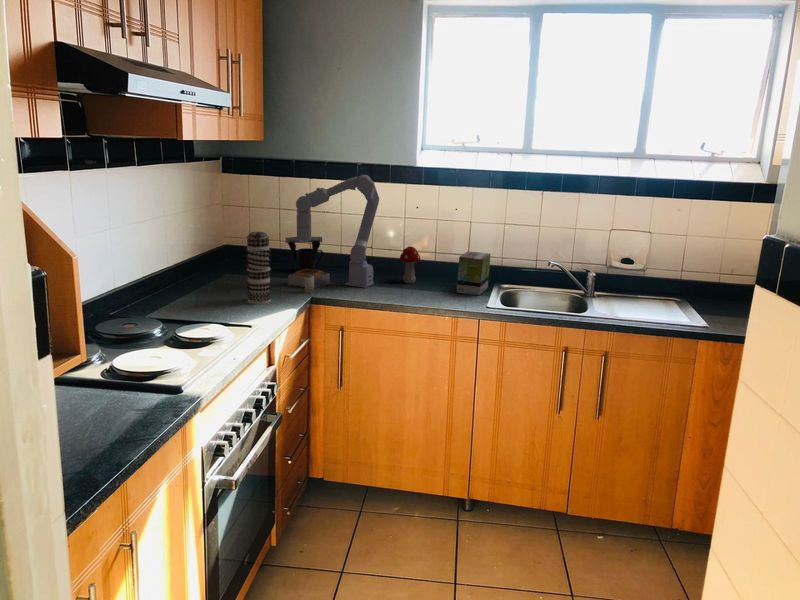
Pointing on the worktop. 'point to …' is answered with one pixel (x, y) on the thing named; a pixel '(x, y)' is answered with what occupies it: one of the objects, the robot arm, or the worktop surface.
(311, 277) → the canister
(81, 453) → the worktop surface
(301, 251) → the mug
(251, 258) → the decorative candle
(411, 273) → the decorative mushroom
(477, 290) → the tea box
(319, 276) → the housing
